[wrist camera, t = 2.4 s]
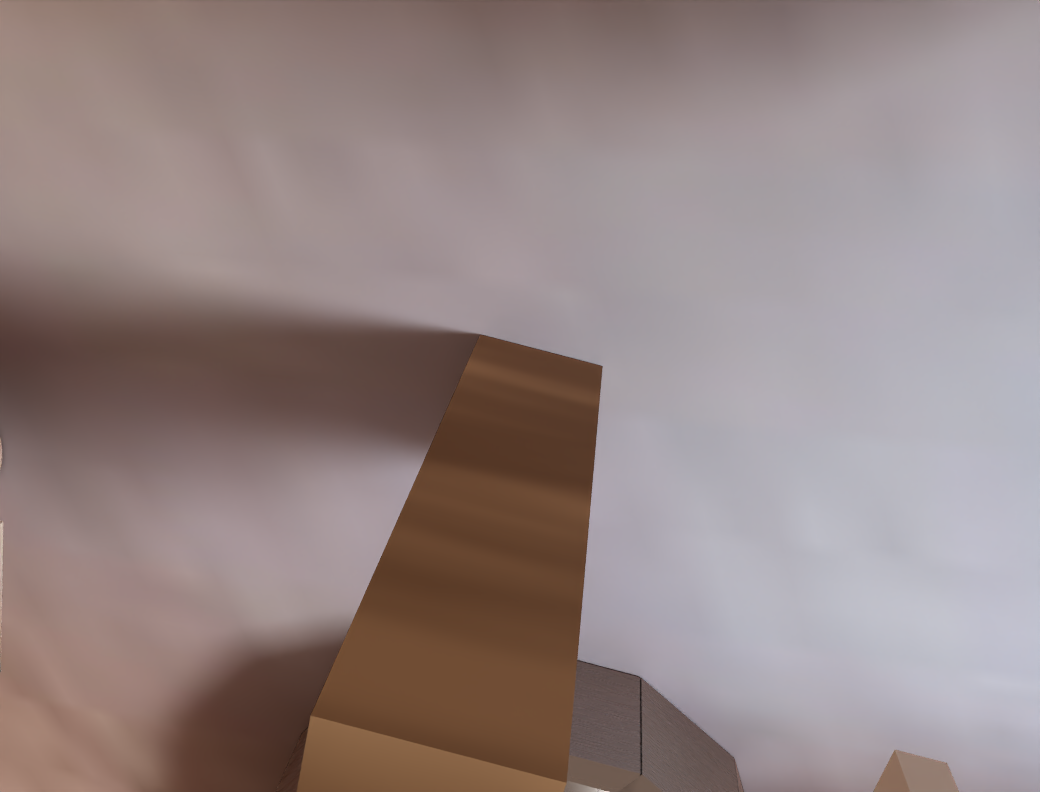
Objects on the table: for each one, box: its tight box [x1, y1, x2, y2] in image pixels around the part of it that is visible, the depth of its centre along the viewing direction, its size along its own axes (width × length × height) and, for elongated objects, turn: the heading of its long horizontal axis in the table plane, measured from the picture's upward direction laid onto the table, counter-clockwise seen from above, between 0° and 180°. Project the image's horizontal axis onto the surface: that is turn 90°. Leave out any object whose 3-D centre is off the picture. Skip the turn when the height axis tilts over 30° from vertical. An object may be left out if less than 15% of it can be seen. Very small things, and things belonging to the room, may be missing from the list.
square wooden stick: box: [297, 335, 602, 792], centre depth 17 cm, size 3×3×13 cm
